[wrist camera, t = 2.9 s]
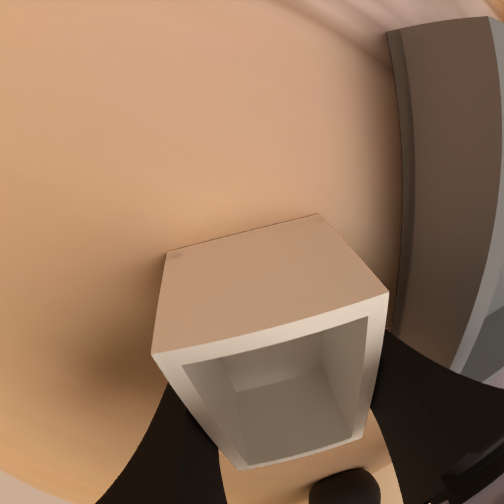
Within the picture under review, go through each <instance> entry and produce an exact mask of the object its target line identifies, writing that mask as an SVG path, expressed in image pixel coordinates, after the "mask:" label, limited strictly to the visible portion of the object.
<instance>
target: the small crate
mask: <svg viewBox="0 0 504 504" xmlns="http://www.w3.org/2000/svg"><path fill="white" fill-rule="evenodd" d="M388 300H389V291H388V290H387V288H386V287H385V286H384V285H383V284H382V282H381V281H380V280H379V279H378V278H377V277H376V275H375V274H374V273H373V272H372V271H371V270H370V268H369V267H368V266H367V265H366V264H365V263H364V262H363V260H362V259H361V258H360V257H359V256H358V255H357V254H356V253H355V251H354V250H353V249H352V248H351V247H350V246H349V245H348V244H347V243H346V241H345V240H344V239H343V238H342V237H341V236H340V235H339V234H338V233H337V232H336V231H335V230H334V228H333V227H332V226H331V225H330V224H329V223H328V222H327V221H326V220H325V219H324V218H323V217H322V216H321V215H320V214H316V215H312V216H308V217H304V218H299V219H295V220H291V221H287V222H283V223H279V224H275V225H271V226H267V227H262V228H258V229H254V230H250V231H246V232H242V233H238V234H234V235H230V236H227V237H223V238H219V239H215V240H211V241H207V242H203V243H199V244H195V245H192V246H188V247H184V248H180V249H176V250H173V251H169V252H167V256H166V261H165V266H164V271H163V277H162V282H161V288H160V294H159V300H158V306H157V312H156V319H155V326H154V333H153V340H152V348H151V356H152V357H153V359H154V361H155V362H156V364H157V365H158V367H159V368H160V370H161V371H162V373H163V374H164V376H165V377H166V379H167V380H168V382H169V383H170V385H171V386H172V388H173V389H174V390H175V392H176V393H177V395H178V396H179V397H180V399H181V400H182V402H183V403H184V404H185V406H186V407H187V408H188V410H189V411H190V412H191V414H192V415H193V416H194V418H195V419H196V420H197V422H198V423H199V424H200V426H201V427H202V428H203V429H204V431H205V432H206V433H207V434H208V436H209V437H210V438H211V439H212V441H213V442H214V443H215V444H216V445H217V447H218V448H219V449H220V450H221V451H222V453H223V454H224V455H225V456H226V457H227V458H228V459H229V461H230V462H231V463H232V464H233V465H234V466H235V467H236V469H237V470H238V471H242V470H248V469H253V468H258V467H263V466H268V465H273V464H277V463H282V462H286V461H290V460H294V459H298V458H301V457H305V456H308V455H312V454H315V453H319V452H322V451H325V450H328V449H331V448H335V447H338V446H340V445H343V444H346V443H349V442H352V441H355V440H357V439H360V438H362V435H363V431H364V428H365V424H366V420H367V416H368V412H369V408H370V404H371V400H372V396H373V391H374V386H375V382H376V377H377V372H378V367H379V361H380V356H381V350H382V344H383V338H384V331H385V324H386V316H387V308H388Z"/></svg>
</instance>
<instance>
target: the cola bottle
mask: <svg viewBox="0 0 504 504" xmlns="http://www.w3.org/2000/svg"><path fill="white" fill-rule="evenodd" d="M380 500H381V493H380V488H379V485H378V483H377V481H376V480H375V478H374V477H373V476H372V475H371V474H370V473H369V472H368V471H366V470H362V469H355V470H349V471H345V472H342V473H339V474H336V475H333V476H331V477H328V478H326V479H324V480H322V481H320V482H318V483H317V484H316V485H314V486H313V487H312V489H311V490H310V493H309V504H380Z"/></svg>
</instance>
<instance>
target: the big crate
mask: <svg viewBox="0 0 504 504" xmlns="http://www.w3.org/2000/svg"><path fill="white" fill-rule="evenodd" d="M386 33H387V38H388V43H389V48H390V53H391V59H392V65H393V71H394V77H395V84H396V92H397V100H398V109H399V119H400V131H401V146H402V172H403V212H402V237H401V253H400V265H399V276H398V285H397V294H396V302H395V309H394V316H393V323H392V329H391V333H392V334H393V335H394V336H396V337H397V338H399V339H400V340H401V341H403V342H404V343H406V344H407V345H409V346H410V347H412V348H413V349H415V350H416V351H418V352H419V353H421V354H423V355H424V356H426V357H427V358H429V359H431V360H433V361H434V362H436V363H438V364H440V365H442V366H444V367H446V368H448V369H450V370H452V371H454V372H456V373H458V374H461V375H463V376H466V377H468V378H471V379H473V380H476V381H479V382H481V383H484V384H488V383H490V382H491V381H492V380H494V379H495V378H497V377H498V376H499V375H501V374H502V373H503V372H504V23H502V22H500V21H498V20H495V19H493V18H491V17H488V16H485V17H472V18H462V19H453V20H446V21H439V22H433V23H427V24H421V25H416V26H411V27H406V28H402V29H397V30H393V31H389V32H386Z"/></svg>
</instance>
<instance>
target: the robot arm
mask: <svg viewBox="0 0 504 504" xmlns="http://www.w3.org/2000/svg"><path fill="white" fill-rule="evenodd" d="M370 408H371V410H372V412H373V414H374V416H375V418H376V420H377V422H378V424H379V427H380V429H381V432H382V435H383V437H384V440H385V442H386V445H387V448H388V451H389V454H390V457H391V460H392V463H393V466H394V469H395V472H396V476H397V479H398V483H399V487H400V491H401V494H402V498H403V503H404V504H428V503H431V504H504V372H503V373H502V374H501V375H499V376H498V377H497V378H495V379H494V380H492V381H491V382H490V383H488V384H484V383H481V382H479V381H476V380H473V379H471V378H468V377H466V376H463V375H461V374H458V373H456V372H454V371H452V370H450V369H448V368H446V367H444V366H442V365H440V364H438V363H436V362H434V361H433V360H431V359H429V358H427V357H426V356H424V355H423V354H421V353H419V352H418V351H416V350H415V349H413V348H412V347H410V346H409V345H407V344H406V343H404V342H403V341H401V340H400V339H399V338H397V337H396V336H394V335H393V334H392V333H390V332H389V331H388V330H386V329H385V331H384V338H383V344H382V350H381V356H380V361H379V367H378V372H377V377H376V382H375V386H374V391H373V396H372V400H371V404H370ZM95 504H227V500H226V496H225V491H224V487H223V482H222V476H221V471H220V464H219V453H218V447H217V445H216V444H215V443H214V442H213V441H212V439H211V438H210V437H209V436H208V434H207V433H206V432H205V431H204V429H203V428H202V427H201V426H200V424H199V423H198V422H197V420H196V419H195V418H194V416H193V415H192V414H191V412H190V411H189V410H188V408H187V407H186V406H185V404H184V403H183V402H182V400H181V399H180V397H179V396H178V395H177V393H176V392H175V390H174V389H173V388H172V386H171V385H170V383H169V382H168V384H167V386H166V389H165V391H164V394H163V396H162V399H161V401H160V404H159V406H158V408H157V410H156V413H155V415H154V417H153V419H152V421H151V423H150V426H149V428H148V430H147V432H146V433H145V435H144V437H143V439H142V441H141V443H140V444H139V446H138V448H137V450H136V451H135V453H134V454H133V456H132V458H131V459H130V461H129V462H128V464H127V465H126V467H125V468H124V470H123V471H122V472H121V474H120V475H119V476H118V478H117V479H116V480H115V481H114V483H113V484H112V485H111V486H110V488H109V489H108V490H107V491H106V493H105V494H104V495H103V496H102V497H101V498H100V499H99V500H98V501H97V502H96V503H95Z"/></svg>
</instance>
